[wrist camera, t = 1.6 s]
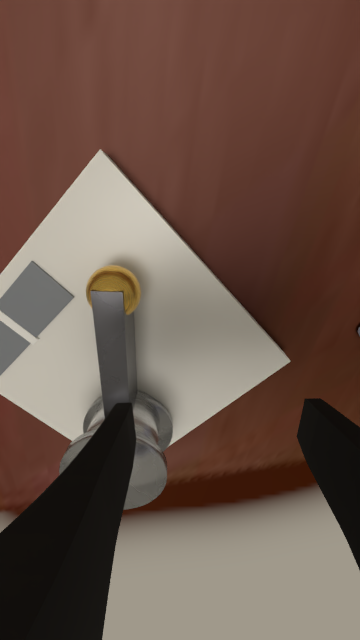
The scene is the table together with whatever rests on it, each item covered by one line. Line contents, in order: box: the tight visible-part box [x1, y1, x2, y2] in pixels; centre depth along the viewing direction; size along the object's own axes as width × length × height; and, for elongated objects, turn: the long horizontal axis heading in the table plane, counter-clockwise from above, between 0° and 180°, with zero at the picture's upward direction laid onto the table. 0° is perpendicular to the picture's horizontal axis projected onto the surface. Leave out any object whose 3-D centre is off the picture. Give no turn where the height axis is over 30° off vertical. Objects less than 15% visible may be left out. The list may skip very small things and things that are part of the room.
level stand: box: [0, 149, 290, 446], centre depth 19 cm, size 18×18×2 cm
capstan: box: [59, 265, 173, 510], centre depth 16 cm, size 17×7×5 cm, turn 178°
